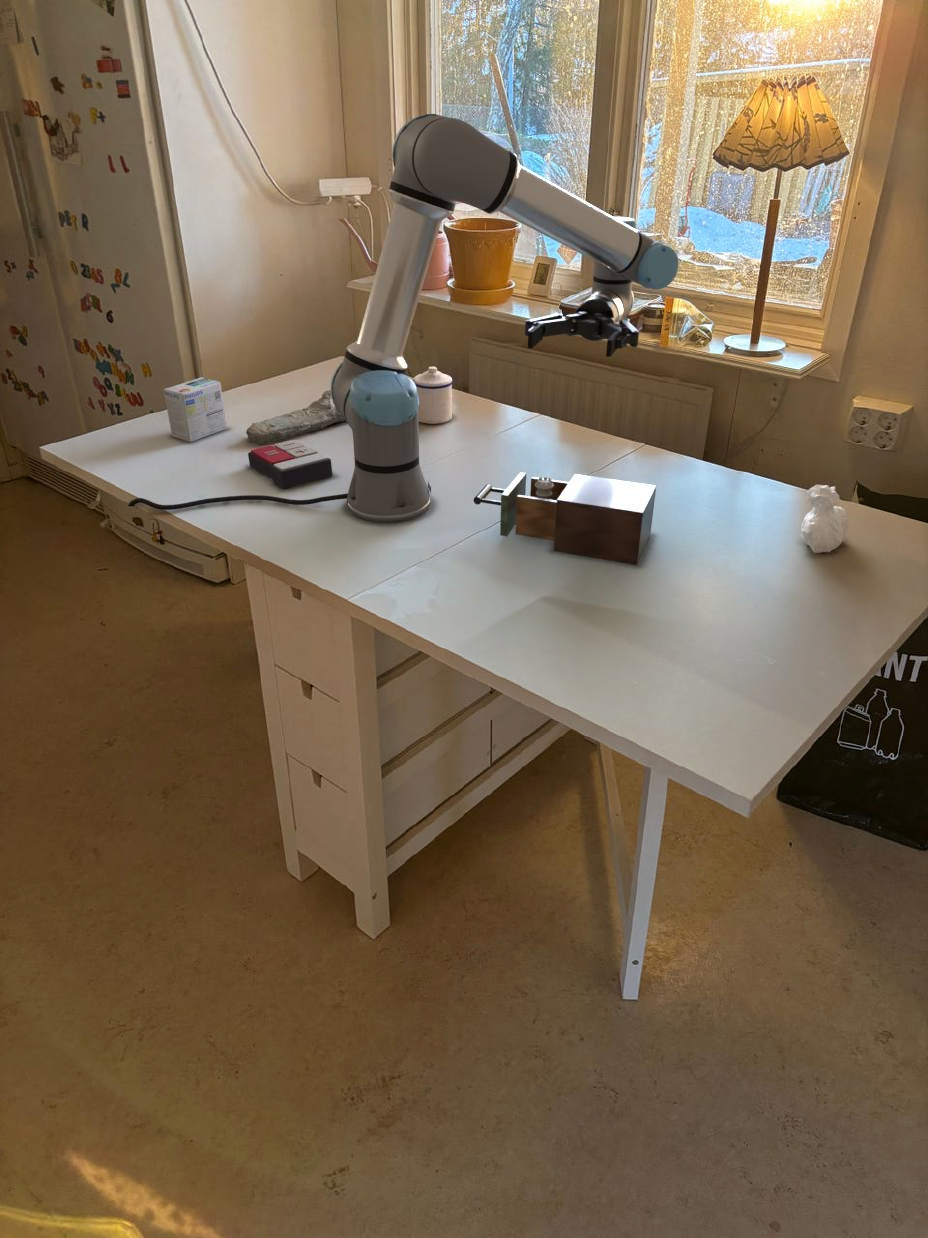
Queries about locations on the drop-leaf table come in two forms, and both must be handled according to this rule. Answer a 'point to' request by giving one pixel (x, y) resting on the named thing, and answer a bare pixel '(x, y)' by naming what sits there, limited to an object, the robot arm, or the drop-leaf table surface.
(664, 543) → the drop-leaf table surface
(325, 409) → the long grey stone
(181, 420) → the light bulb box
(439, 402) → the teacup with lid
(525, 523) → the drawer
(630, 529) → the cabinet
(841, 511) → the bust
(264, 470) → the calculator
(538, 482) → the rook chess piece
